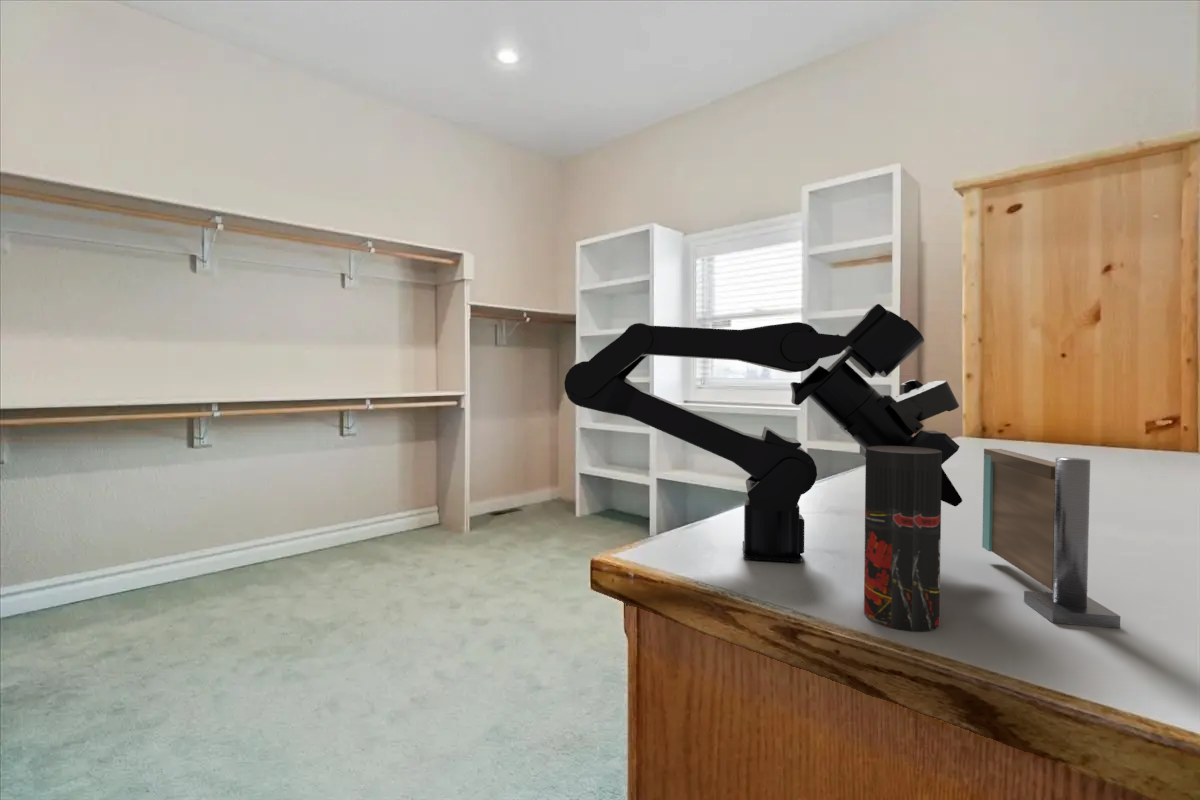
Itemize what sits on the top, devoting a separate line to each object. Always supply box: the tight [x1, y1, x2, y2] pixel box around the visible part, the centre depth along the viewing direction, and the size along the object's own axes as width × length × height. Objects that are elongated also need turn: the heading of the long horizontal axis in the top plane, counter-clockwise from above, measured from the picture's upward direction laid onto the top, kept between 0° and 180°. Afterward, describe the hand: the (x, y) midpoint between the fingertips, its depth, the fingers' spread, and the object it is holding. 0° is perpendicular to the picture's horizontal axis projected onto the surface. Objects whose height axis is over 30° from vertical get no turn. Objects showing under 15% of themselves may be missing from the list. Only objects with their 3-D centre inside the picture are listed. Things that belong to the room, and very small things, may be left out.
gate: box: [981, 448, 1055, 592], centre depth 60 cm, size 2×14×12 cm, turn 167°
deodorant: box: [863, 446, 943, 633], centre depth 51 cm, size 6×6×15 cm
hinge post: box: [1023, 456, 1121, 629], centre depth 52 cm, size 5×5×14 cm
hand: (958, 503), depth 65 cm, fingers closed
